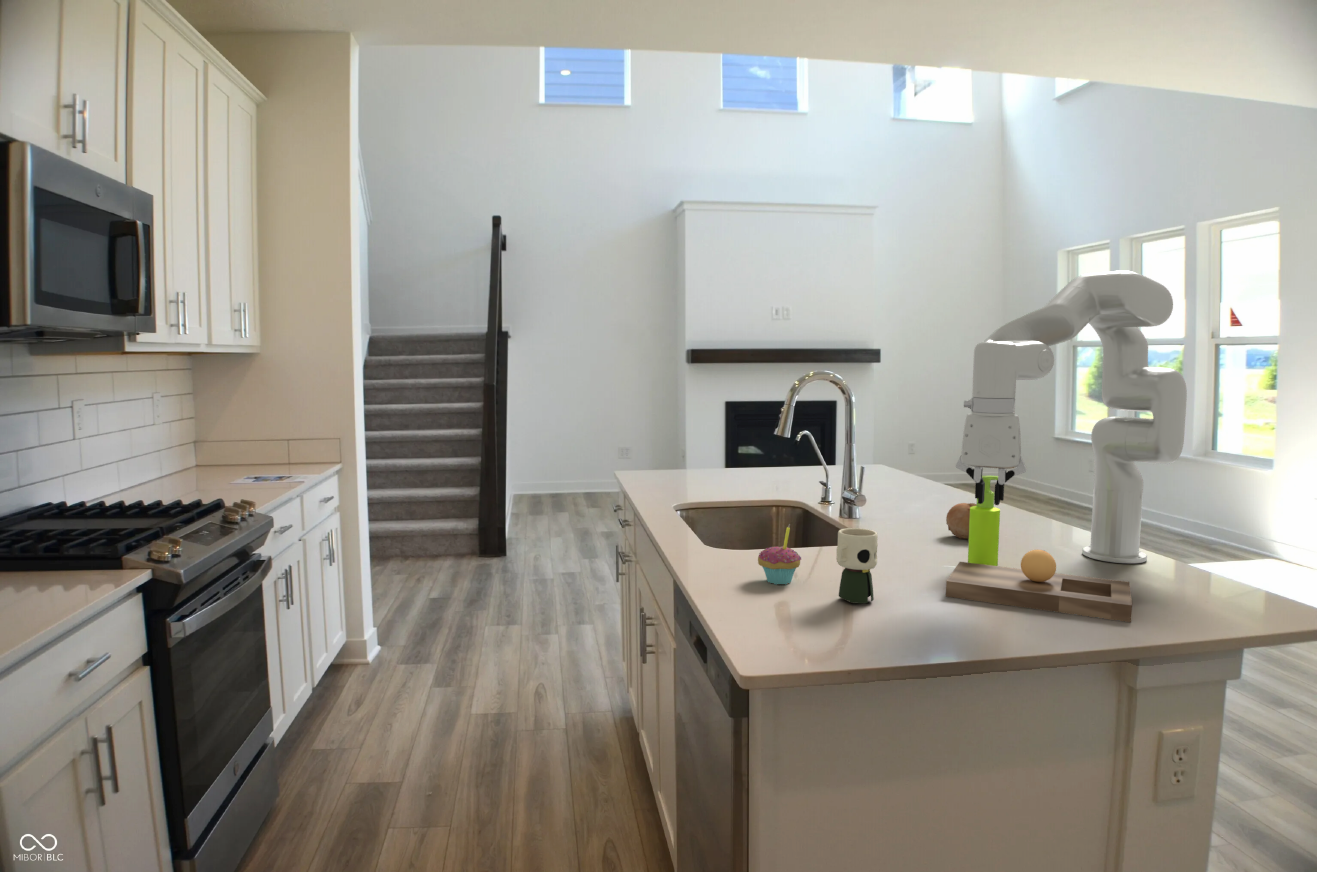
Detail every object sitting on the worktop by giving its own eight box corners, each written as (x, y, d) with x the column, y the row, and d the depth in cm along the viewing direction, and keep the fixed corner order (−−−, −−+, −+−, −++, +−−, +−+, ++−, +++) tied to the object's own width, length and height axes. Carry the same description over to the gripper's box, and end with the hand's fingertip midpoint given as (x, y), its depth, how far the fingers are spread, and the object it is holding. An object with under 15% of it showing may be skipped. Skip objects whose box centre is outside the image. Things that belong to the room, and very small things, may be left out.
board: (959, 575, 162) (959, 561, 162) (1128, 597, 148) (1129, 581, 148) (945, 596, 149) (946, 580, 148) (1131, 622, 134) (1132, 605, 134)
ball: (1021, 575, 152) (1022, 544, 151) (1056, 579, 149) (1057, 548, 148) (1018, 583, 147) (1020, 551, 146) (1054, 587, 144) (1056, 555, 143)
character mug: (852, 611, 140) (853, 539, 138) (821, 601, 145) (822, 532, 144) (890, 600, 146) (892, 531, 145) (859, 591, 152) (861, 524, 151)
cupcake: (805, 578, 160) (806, 520, 159) (793, 589, 153) (794, 529, 152) (764, 573, 164) (765, 517, 163) (751, 584, 156) (752, 525, 155)
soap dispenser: (1005, 573, 164) (1009, 478, 162) (970, 572, 165) (974, 477, 163) (999, 566, 170) (1003, 474, 168) (965, 564, 171) (968, 473, 169)
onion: (980, 552, 194) (998, 519, 190) (943, 541, 194) (961, 509, 189) (971, 530, 203) (988, 499, 198) (936, 520, 202) (952, 488, 198)
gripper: (945, 407, 150) (941, 502, 152) (1038, 409, 142) (1033, 510, 144) (951, 405, 156) (948, 496, 158) (1041, 407, 148) (1036, 504, 150)
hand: (989, 502), depth 151 cm, fingers closed
